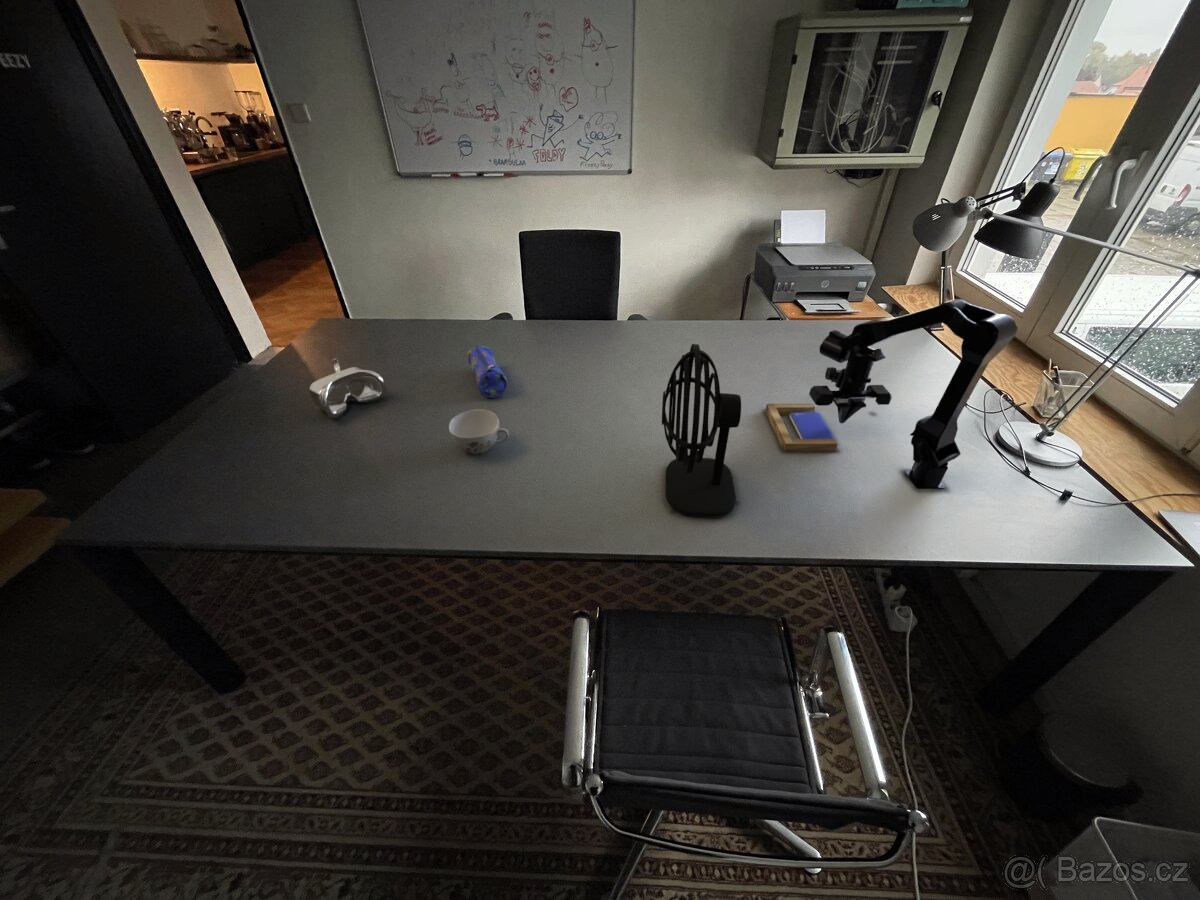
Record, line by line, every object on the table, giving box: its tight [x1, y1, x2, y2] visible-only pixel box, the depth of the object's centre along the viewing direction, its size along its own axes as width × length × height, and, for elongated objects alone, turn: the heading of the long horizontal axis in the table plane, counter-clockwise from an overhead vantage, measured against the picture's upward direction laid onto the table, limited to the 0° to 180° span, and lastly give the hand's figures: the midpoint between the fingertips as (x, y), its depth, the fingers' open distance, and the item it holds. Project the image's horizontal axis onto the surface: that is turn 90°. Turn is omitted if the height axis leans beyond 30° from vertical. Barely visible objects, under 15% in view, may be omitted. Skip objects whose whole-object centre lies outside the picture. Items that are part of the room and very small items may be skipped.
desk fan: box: [661, 343, 742, 518], centre depth 107 cm, size 27×18×35 cm, turn 174°
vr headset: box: [309, 357, 387, 419], centre depth 145 cm, size 18×11×14 cm, turn 139°
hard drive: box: [788, 412, 836, 440], centre depth 135 cm, size 2×8×12 cm
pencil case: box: [466, 345, 508, 399], centre depth 156 cm, size 22×9×10 cm, turn 22°
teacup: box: [448, 408, 510, 455], centre depth 129 cm, size 15×12×8 cm
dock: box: [764, 402, 839, 453], centre depth 135 cm, size 19×13×2 cm
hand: (840, 422), depth 134 cm, fingers closed
